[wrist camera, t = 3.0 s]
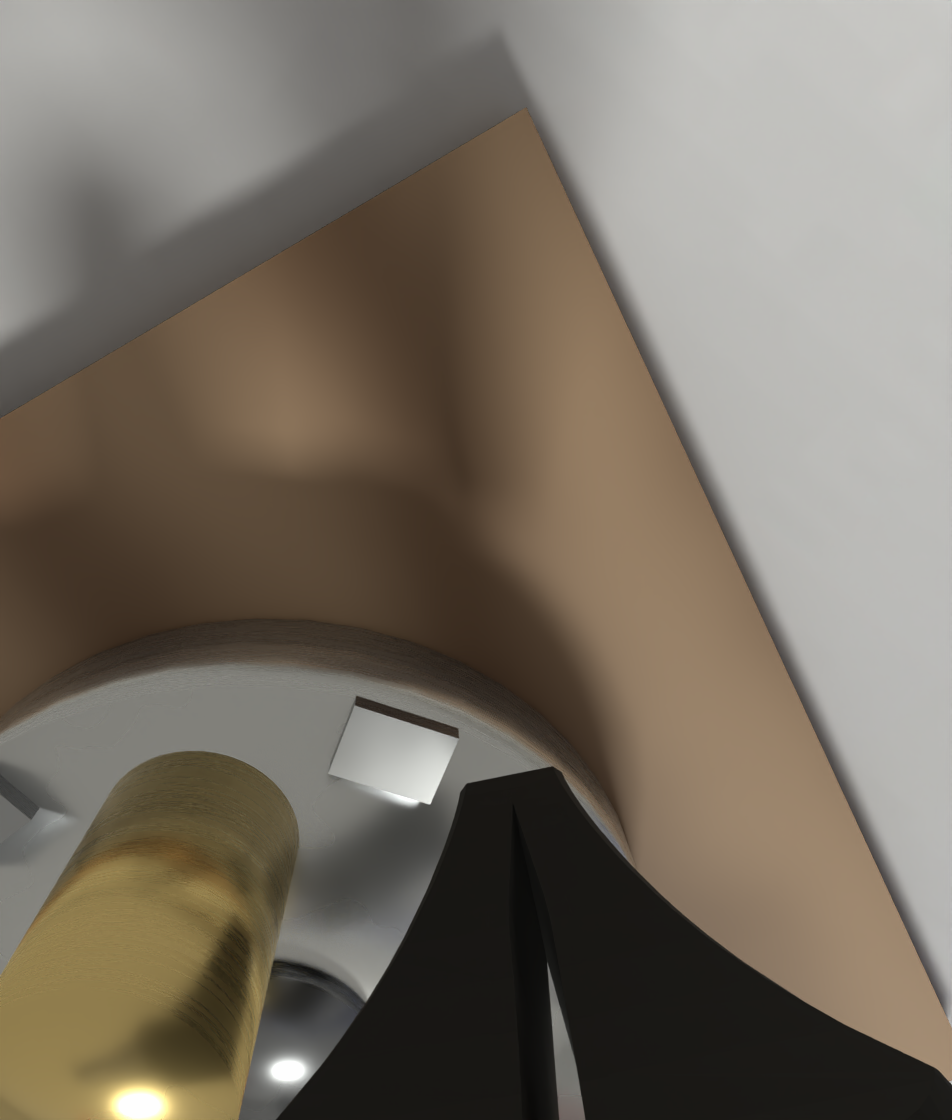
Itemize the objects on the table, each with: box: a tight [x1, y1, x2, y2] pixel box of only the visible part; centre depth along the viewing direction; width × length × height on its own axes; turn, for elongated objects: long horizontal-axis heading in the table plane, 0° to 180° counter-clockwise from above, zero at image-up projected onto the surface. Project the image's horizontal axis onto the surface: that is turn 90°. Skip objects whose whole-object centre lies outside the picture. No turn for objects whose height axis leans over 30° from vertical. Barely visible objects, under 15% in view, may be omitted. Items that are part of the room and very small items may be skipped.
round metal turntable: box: [0, 619, 637, 1120], centre depth 14 cm, size 14×14×7 cm
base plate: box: [0, 108, 952, 1081], centre depth 17 cm, size 22×22×1 cm
